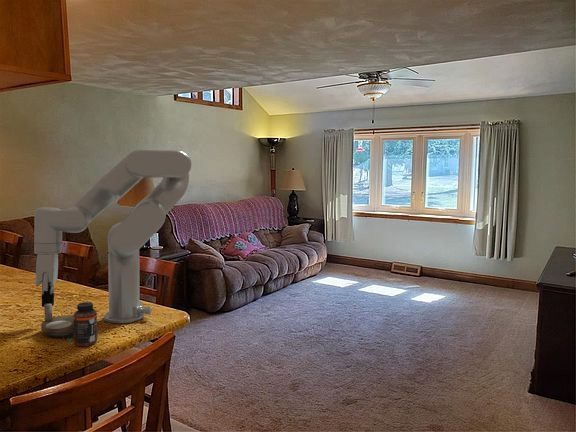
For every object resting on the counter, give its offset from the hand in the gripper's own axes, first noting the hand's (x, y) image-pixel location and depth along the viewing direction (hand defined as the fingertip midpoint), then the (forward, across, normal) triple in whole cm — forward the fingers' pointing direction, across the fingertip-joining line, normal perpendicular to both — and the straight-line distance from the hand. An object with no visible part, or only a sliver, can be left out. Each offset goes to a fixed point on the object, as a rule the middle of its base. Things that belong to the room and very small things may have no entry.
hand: (47, 305), depth 137 cm
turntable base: (+6, +9, +6) cm, 12 cm away
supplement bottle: (+6, +19, +12) cm, 23 cm away
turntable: (+4, +8, +6) cm, 11 cm away
